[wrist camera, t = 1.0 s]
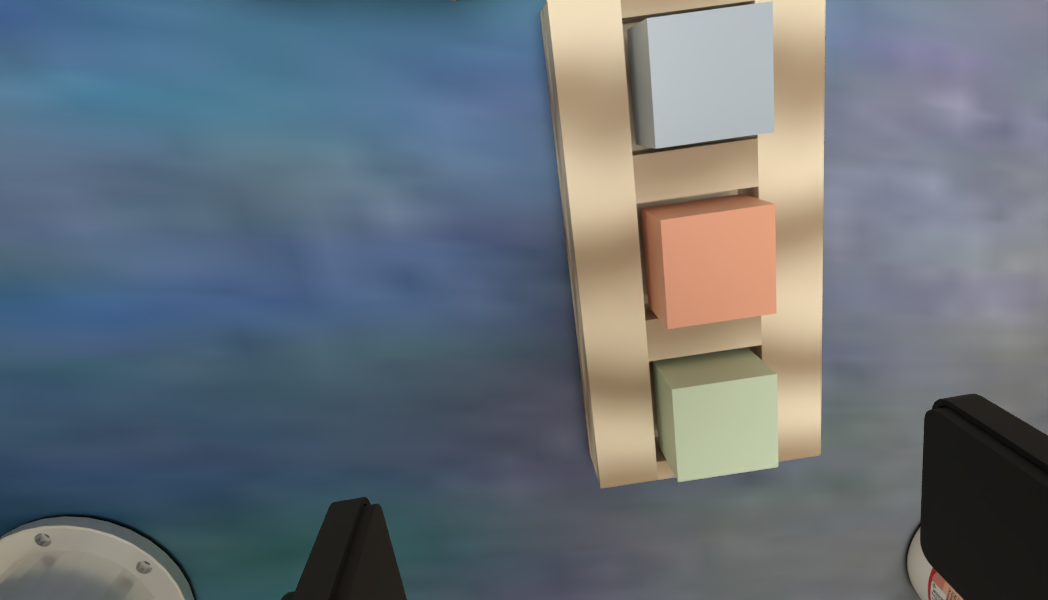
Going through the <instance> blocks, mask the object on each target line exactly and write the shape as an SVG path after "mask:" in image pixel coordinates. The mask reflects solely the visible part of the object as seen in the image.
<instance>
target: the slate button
mask: <svg viewBox="0 0 1048 600" xmlns="http://www.w3.org/2000/svg"><path fill="white" fill-rule="evenodd" d="M627 34H628V47H629V60H630V73H631V86H632V99H633V112H634V126H635V139H636V145H640V146H645V147H650V148H655V149H657V148H664V147H672V146H679V145H686V144H693V143H700V142H707V141H715V140H722V139H729V138H736V137H743V136H750V135H758V134H765V133H772V132H774V66H773V1H771V2H763V3H756V4H749V5H741V6H734V7H726V8H719V9H711V10H704V11H697V12H689V13H682V14H674V15H667V16H660V17H652V18H646V19H645V20H643V21H641V22H640V23H638V24H636V25H634V26H633V27H631V28H629V29H628V30H627Z"/></svg>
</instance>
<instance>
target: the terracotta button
mask: <svg viewBox="0 0 1048 600" xmlns="http://www.w3.org/2000/svg"><path fill="white" fill-rule="evenodd" d="M641 218H642V231H643V244H644V257H645V270H646V283H647V297H648V307H649V308H650V309H651V310H652V311H653V312H654V314H655V315H656V316H657V317H658V318H659V319H660V321H661V322H662V323H663V324H664V325H665V327H666V328H667V329H673V328H680V327H687V326H694V325H701V324H708V323H714V322H721V321H728V320H735V319H742V318H749V317H756V316H762V315H769V314H776V313H777V310H776V228H775V204H774V203H771V202H768V201H764V200H761V199H758V198H755V197H752V196H748V195H745V194H738V195H731V196H724V197H716V198H709V199H702V200H695V201H688V202H681V203H674V204H667V205H660V206H653V207H646V208H641Z"/></svg>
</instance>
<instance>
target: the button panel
mask: <svg viewBox="0 0 1048 600" xmlns="http://www.w3.org/2000/svg"><path fill="white" fill-rule="evenodd" d="M771 1H773V66H774V132H772V133H765V134H758V135H750V136H743V137H736V138H729V139H722V140H715V141H707V142H700V143H693V144H686V145H679V146H672V147H664V148H657V149H655V148H650V147H645V146H640V145H636V139H635V126H634V112H633V99H632V86H631V73H630V60H629V47H628V34H627V30H628V29H629V28H631V27H633V26H634V25H636V24H638V23H640V22H641V21H643V20H645V19H646V18H652V17H660V16H667V15H674V14H682V13H689V12H697V11H704V10H711V9H719V8H726V7H734V6H741V5H749V4H756V3H763V2H771ZM540 17H541V26H542V35H543V44H544V52H545V61H546V70H547V79H548V88H549V97H550V105H551V114H552V123H553V132H554V141H555V149H556V158H557V167H558V176H559V185H560V194H561V202H562V211H563V220H564V229H565V238H566V247H567V255H568V264H569V273H570V282H571V291H572V299H573V308H574V317H575V326H576V335H577V344H578V352H579V361H580V370H581V379H582V388H583V397H584V405H585V414H586V423H587V432H588V441H589V449H590V456H591V459H592V462H593V465H594V469H595V472H596V475H597V478H598V481H599V485H600V488H607V487H614V486H621V485H627V484H634V483H640V482H647V481H654V480H660V479H667V478H674V477H675V475H674V473H673V471H672V470H671V468H670V466H669V464H668V462H667V460H666V458H665V456H664V454H663V453H662V451H661V449H660V447H659V441H658V428H657V415H656V402H655V389H654V375H653V362H652V361H656V360H663V359H669V358H676V357H683V356H690V355H697V354H703V353H710V352H717V351H724V350H731V349H737V348H744V347H748V348H749V349H750V350H751V351H752V352H753V353H754V354H755V355H757V356H758V357H759V358H760V359H761V360H762V361H763V362H764V363H766V364H767V365H768V366H769V367H770V368H771V369H772V370H773V371H775V372H776V373H777V391H778V462H779V461H786V460H793V459H799V458H806V457H812V456H819V455H821V371H822V275H823V179H824V84H825V0H547V1H546V3H545V5H544V6H543V8H542V10H541V12H540ZM738 194H745V195H748V196H752V197H755V198H758V199H761V200H764V201H768V202H771V203H774V204H775V228H776V310H777V313H776V314H769V315H762V316H756V317H749V318H742V319H735V320H728V321H721V322H714V323H708V324H701V325H694V326H687V327H680V328H673V329H667V328H666V327H665V325H664V324H663V323H662V322H661V321H660V319H659V318H658V317H657V316H656V315H655V314H654V312H653V311H652V310H651V309H650V308H649V307H648V297H647V283H646V270H645V257H644V244H643V231H642V218H641V208H646V207H653V206H660V205H667V204H674V203H681V202H688V201H695V200H702V199H709V198H716V197H724V196H731V195H738Z"/></svg>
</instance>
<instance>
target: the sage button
mask: <svg viewBox="0 0 1048 600" xmlns="http://www.w3.org/2000/svg"><path fill="white" fill-rule="evenodd" d="M652 362H653V375H654V389H655V402H656V415H657V428H658V441H659V447H660V449H661V451H662V453H663V454H664V456H665V458H666V460H667V462H668V464H669V466H670V468H671V470H672V471H673V473H674V475H675V477H676V479H677V481H678V482H682V481H689V480H695V479H702V478H709V477H715V476H722V475H728V474H735V473H742V472H748V471H755V470H761V469H768V468H775V467H778V391H777V373H776V372H775V371H773V370H772V369H771V368H770V367H769V366H768V365H767V364H766V363H764V362H763V361H762V360H761V359H760V358H759V357H758V356H757V355H755V354H754V353H753V352H752V351H751V350H750V349H749V348H748V347H744V348H737V349H731V350H724V351H717V352H710V353H703V354H697V355H690V356H683V357H676V358H669V359H663V360H656V361H652Z"/></svg>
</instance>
